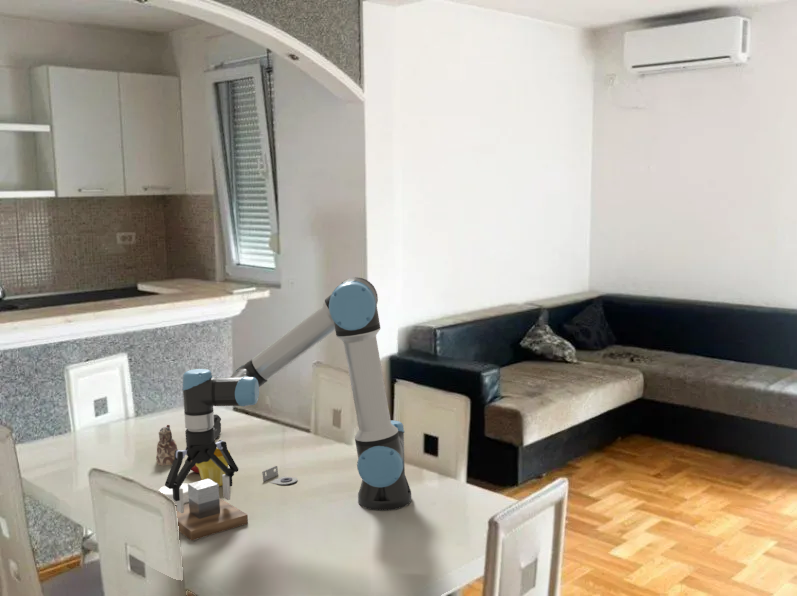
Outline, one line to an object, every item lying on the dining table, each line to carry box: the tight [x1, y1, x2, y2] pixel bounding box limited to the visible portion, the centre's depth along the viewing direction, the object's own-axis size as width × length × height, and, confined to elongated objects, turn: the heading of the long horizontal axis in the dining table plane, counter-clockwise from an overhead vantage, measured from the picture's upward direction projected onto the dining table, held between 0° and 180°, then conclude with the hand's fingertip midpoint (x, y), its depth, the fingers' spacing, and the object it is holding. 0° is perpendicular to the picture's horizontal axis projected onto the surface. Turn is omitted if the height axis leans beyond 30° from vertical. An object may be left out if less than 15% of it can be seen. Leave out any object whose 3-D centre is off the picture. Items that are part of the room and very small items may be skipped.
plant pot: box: [196, 448, 231, 488], centre depth 245 cm, size 10×10×10 cm
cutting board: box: [175, 497, 249, 542], centre depth 217 cm, size 18×16×2 cm
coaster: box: [157, 482, 189, 505], centre depth 233 cm, size 10×10×4 cm
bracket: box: [261, 465, 298, 486], centre depth 247 cm, size 7×10×4 cm, turn 57°
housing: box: [187, 479, 220, 519], centre depth 216 cm, size 6×6×8 cm
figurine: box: [155, 424, 179, 466], centre depth 267 cm, size 7×7×12 cm
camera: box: [213, 414, 222, 440], centre depth 292 cm, size 13×10×10 cm
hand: (204, 505), depth 216 cm, fingers open, 13 cm apart
